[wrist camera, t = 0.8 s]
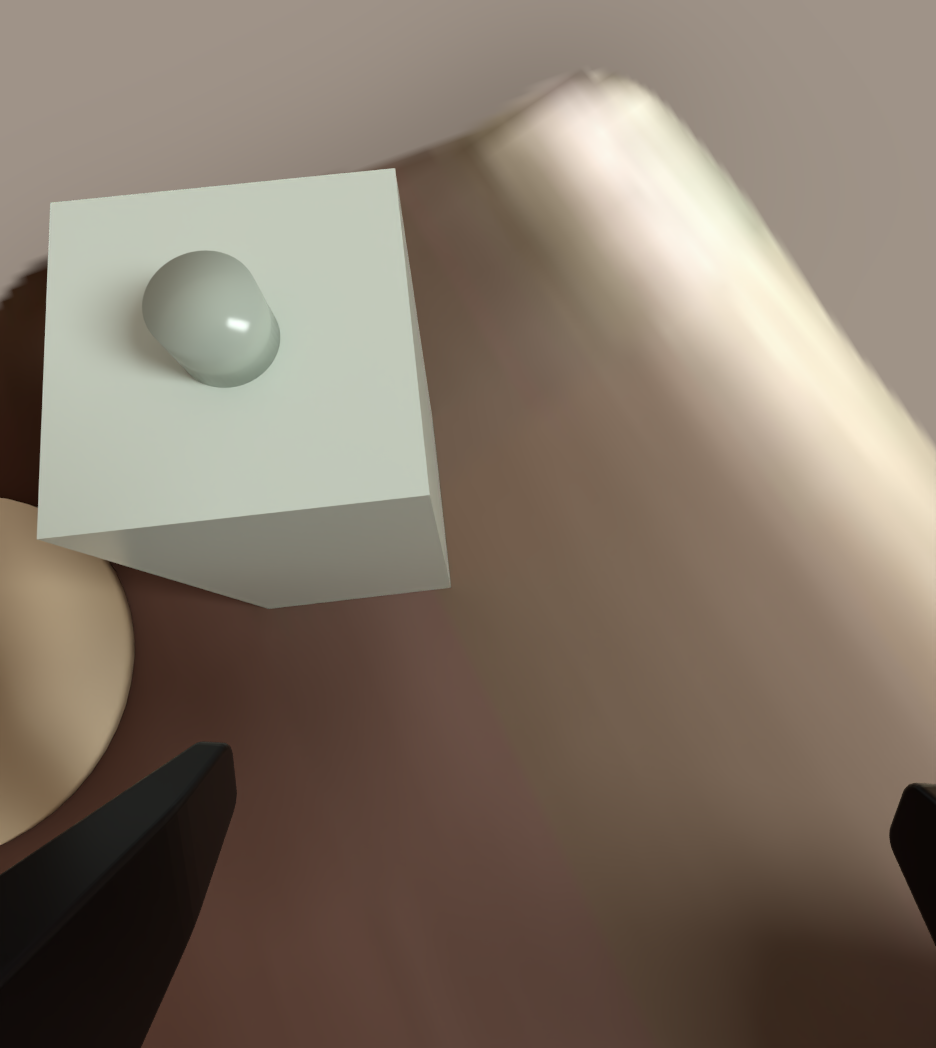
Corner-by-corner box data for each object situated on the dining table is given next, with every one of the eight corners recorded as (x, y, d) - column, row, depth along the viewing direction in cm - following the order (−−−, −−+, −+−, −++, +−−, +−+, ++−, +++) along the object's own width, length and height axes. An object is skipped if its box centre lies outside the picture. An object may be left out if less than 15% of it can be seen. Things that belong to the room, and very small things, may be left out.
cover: (450, 587, 22) (424, 472, 9) (268, 608, 22) (-20, 522, 9) (432, 418, 23) (386, 112, 11) (261, 437, 23) (2, 149, 10)
